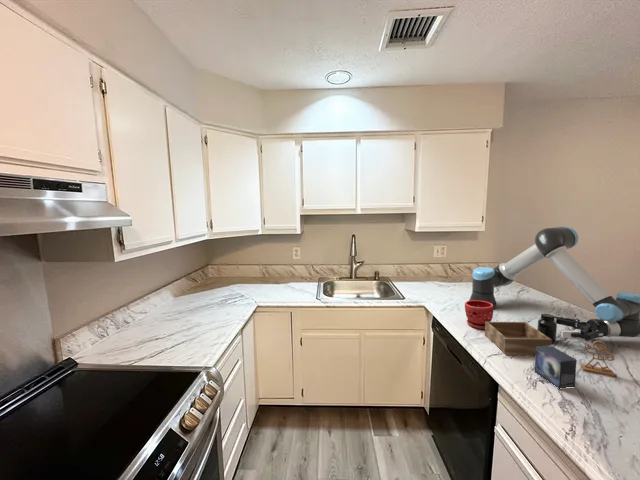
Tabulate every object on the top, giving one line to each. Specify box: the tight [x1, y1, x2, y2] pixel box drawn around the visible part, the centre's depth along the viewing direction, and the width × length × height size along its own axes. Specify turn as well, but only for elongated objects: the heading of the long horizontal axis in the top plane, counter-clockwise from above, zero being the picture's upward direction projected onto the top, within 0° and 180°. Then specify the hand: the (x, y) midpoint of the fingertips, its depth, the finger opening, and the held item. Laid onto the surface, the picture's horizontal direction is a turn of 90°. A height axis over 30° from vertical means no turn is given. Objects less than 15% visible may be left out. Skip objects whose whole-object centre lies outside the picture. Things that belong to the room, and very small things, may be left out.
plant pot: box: [464, 300, 494, 330], centre depth 148 cm, size 13×13×12 cm
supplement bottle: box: [537, 313, 558, 344], centre depth 130 cm, size 7×7×12 cm
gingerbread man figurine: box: [579, 340, 617, 378], centre depth 105 cm, size 9×4×12 cm, turn 60°
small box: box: [534, 344, 578, 390], centre depth 101 cm, size 11×6×10 cm, turn 5°
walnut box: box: [484, 321, 553, 356], centre depth 127 cm, size 18×18×7 cm
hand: (550, 327), depth 129 cm, fingers open, 13 cm apart
